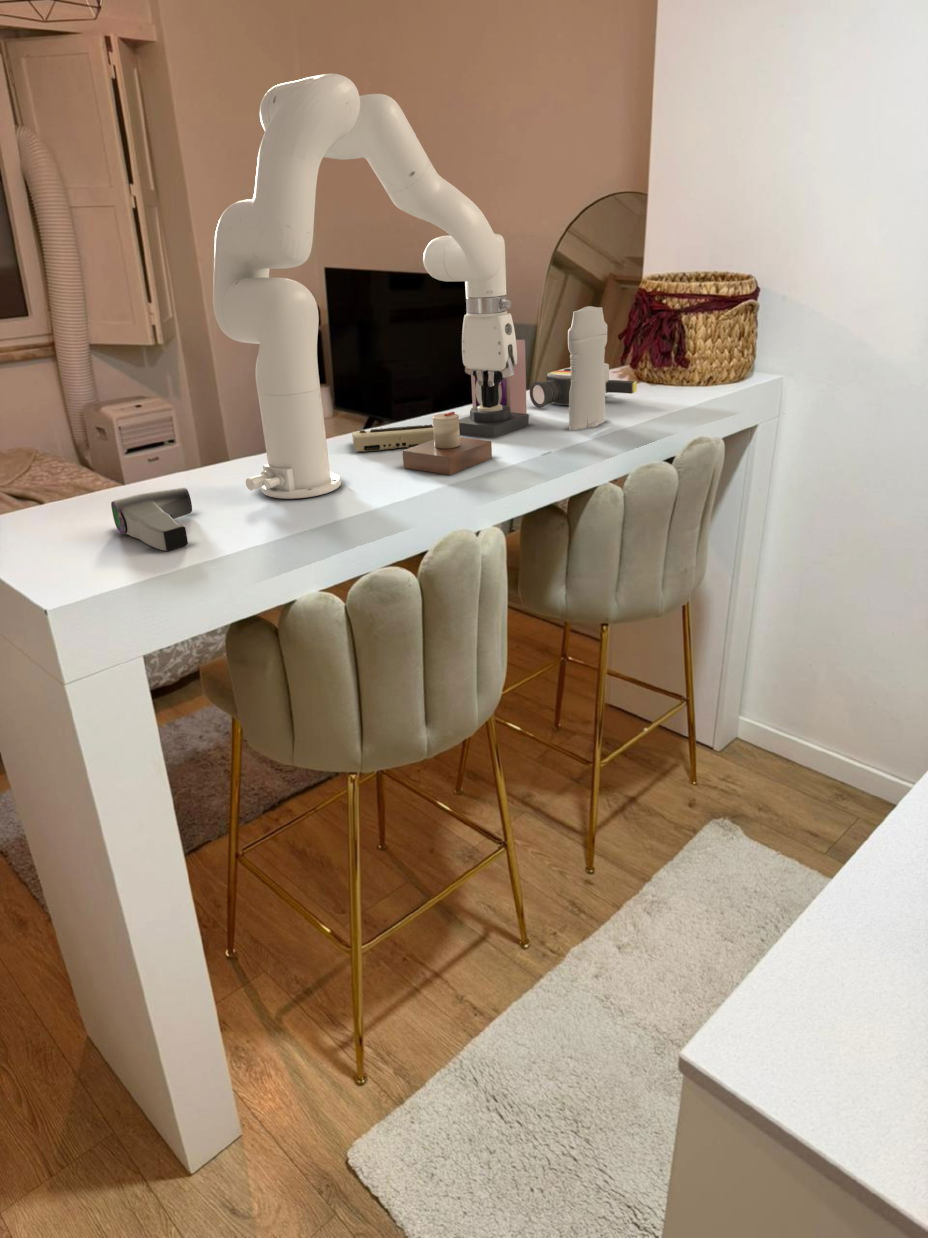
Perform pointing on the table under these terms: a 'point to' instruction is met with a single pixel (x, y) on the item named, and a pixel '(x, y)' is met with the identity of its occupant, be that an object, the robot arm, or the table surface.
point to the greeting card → (509, 385)
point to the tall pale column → (587, 368)
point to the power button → (491, 409)
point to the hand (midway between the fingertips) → (490, 405)
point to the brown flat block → (447, 456)
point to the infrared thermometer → (154, 517)
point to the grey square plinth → (492, 422)
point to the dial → (446, 430)
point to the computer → (392, 437)
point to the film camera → (560, 385)
